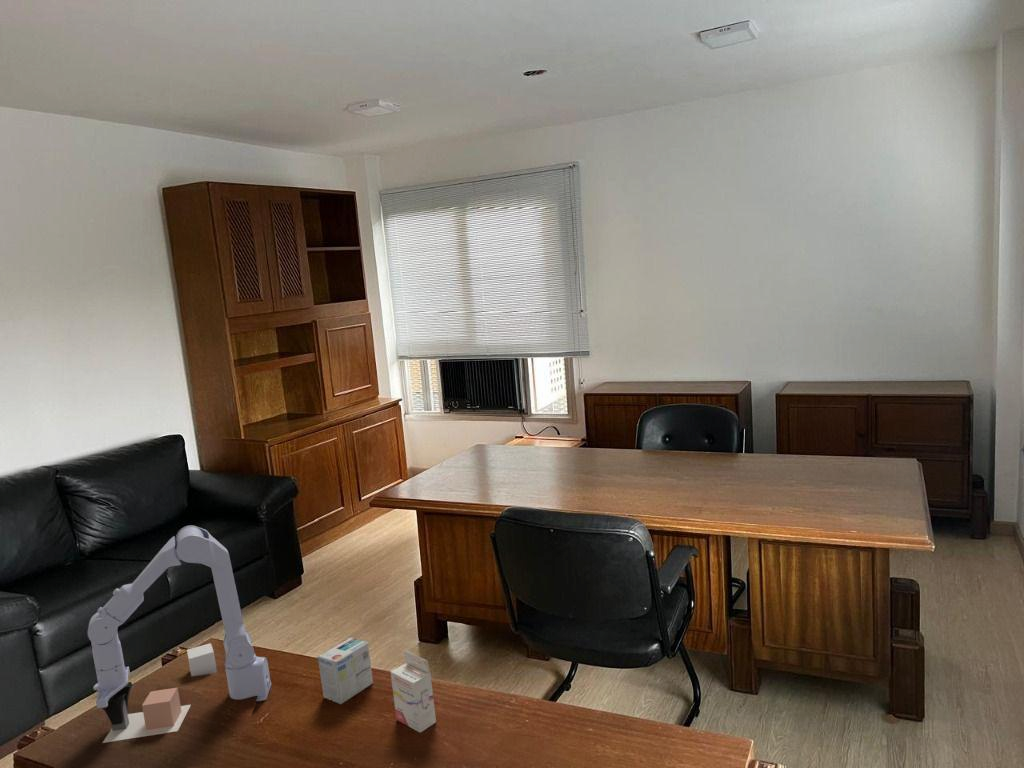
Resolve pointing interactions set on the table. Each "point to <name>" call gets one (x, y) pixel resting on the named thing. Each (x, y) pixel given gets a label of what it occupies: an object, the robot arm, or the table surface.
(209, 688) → the table surface
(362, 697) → the table surface
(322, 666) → the light bulb box
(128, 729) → the white flat board
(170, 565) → the robot arm
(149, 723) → the block
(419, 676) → the ink cartridge box
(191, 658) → the white block
